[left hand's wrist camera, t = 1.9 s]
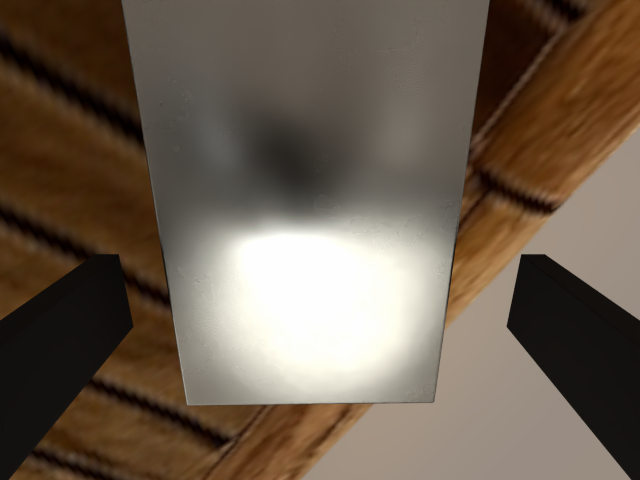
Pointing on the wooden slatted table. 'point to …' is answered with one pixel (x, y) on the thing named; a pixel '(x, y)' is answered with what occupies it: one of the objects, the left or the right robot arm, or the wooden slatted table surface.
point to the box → (307, 188)
